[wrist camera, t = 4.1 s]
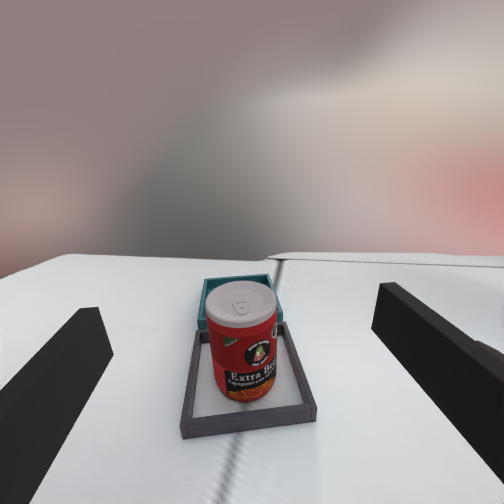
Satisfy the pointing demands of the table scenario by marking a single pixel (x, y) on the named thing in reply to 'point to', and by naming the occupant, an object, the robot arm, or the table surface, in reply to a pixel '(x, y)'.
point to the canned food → (243, 338)
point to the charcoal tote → (248, 418)
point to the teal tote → (216, 282)
